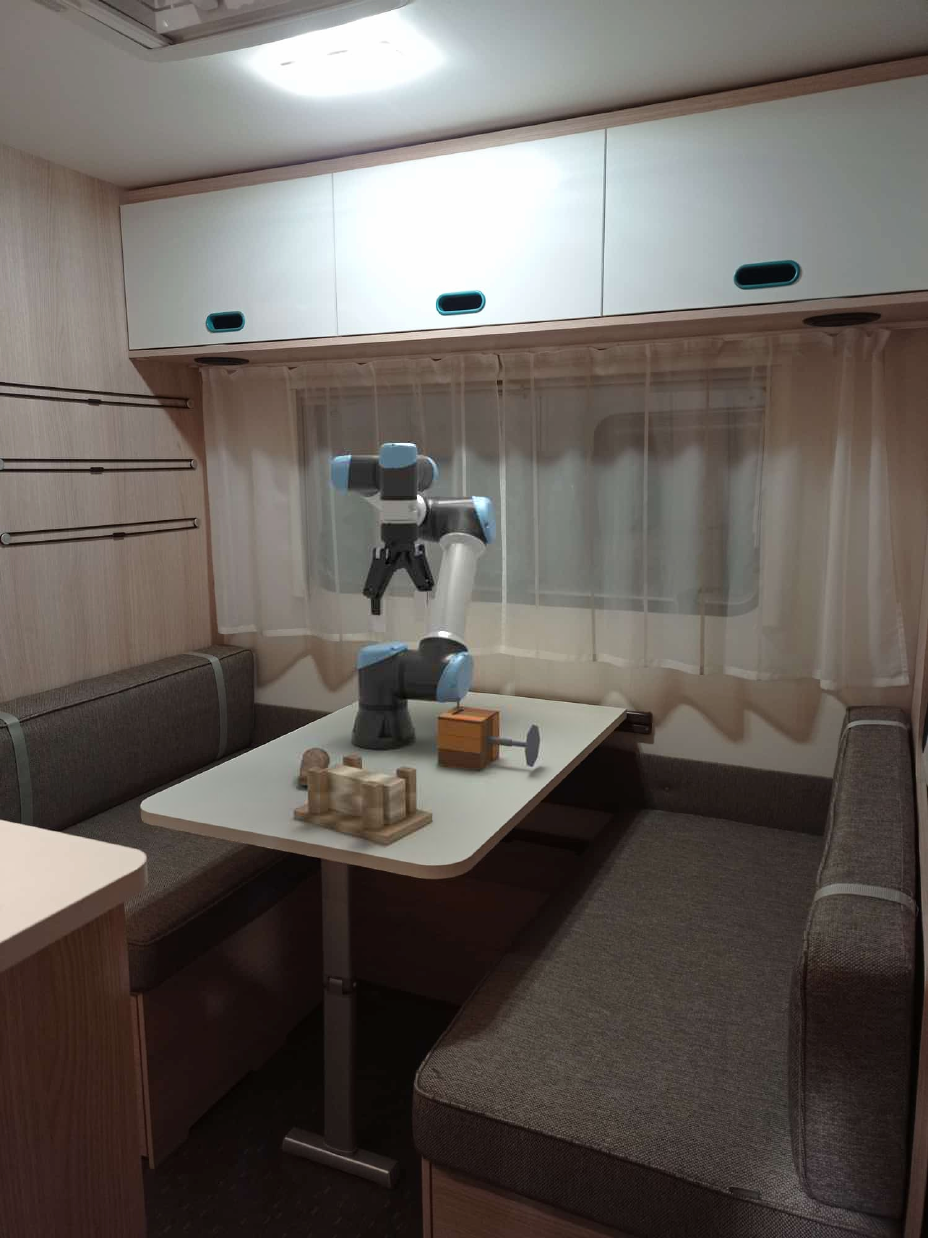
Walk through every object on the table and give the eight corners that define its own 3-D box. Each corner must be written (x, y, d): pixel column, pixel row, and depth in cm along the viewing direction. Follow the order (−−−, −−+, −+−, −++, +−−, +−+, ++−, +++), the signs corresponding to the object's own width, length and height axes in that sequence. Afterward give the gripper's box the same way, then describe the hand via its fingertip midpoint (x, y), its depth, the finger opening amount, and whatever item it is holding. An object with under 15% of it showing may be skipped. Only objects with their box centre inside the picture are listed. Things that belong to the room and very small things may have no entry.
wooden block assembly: (293, 817, 164) (292, 768, 163) (341, 797, 175) (340, 750, 173) (386, 845, 152) (385, 791, 150) (432, 821, 162) (432, 770, 161)
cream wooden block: (322, 806, 166) (321, 770, 164) (338, 799, 169) (337, 763, 168) (390, 824, 157) (389, 786, 156) (405, 816, 160) (405, 779, 159)
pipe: (351, 775, 174) (375, 752, 182) (279, 764, 180) (306, 743, 189) (354, 804, 176) (378, 781, 184) (283, 793, 182) (309, 770, 191)
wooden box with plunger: (523, 777, 186) (523, 710, 184) (437, 765, 195) (437, 701, 193) (541, 763, 196) (541, 699, 194) (458, 751, 204) (458, 690, 202)
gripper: (373, 524, 167) (375, 637, 170) (450, 519, 187) (451, 620, 190) (343, 523, 171) (345, 633, 174) (422, 519, 191) (422, 617, 194)
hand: (400, 626), depth 182 cm, fingers open, 13 cm apart
